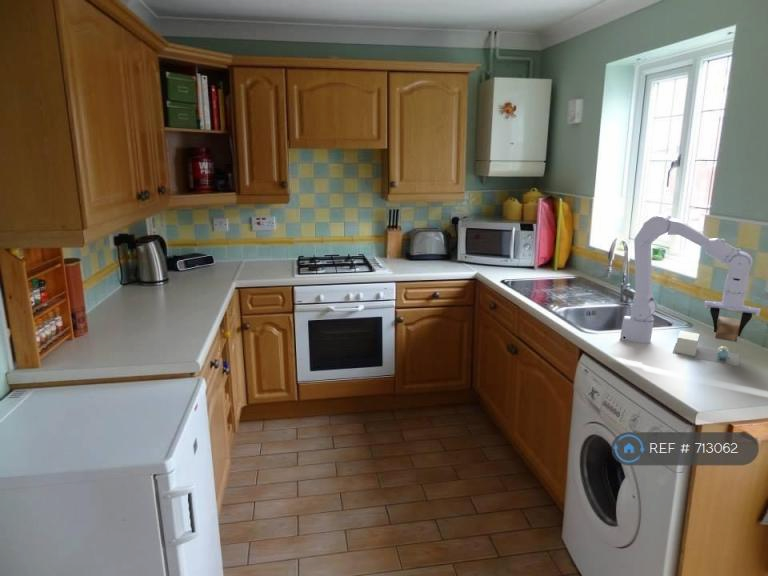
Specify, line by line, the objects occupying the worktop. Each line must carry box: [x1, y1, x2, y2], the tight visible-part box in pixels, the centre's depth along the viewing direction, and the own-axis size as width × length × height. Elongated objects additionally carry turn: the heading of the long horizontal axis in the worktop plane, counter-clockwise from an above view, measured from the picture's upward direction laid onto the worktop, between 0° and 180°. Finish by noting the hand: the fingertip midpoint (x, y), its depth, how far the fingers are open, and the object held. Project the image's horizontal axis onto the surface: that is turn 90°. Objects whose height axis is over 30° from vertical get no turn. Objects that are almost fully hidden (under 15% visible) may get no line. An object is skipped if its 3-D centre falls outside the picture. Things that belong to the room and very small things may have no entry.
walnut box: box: [714, 315, 741, 343], centre depth 166 cm, size 6×9×5 cm, turn 147°
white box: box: [675, 330, 700, 356], centre depth 173 cm, size 6×9×5 cm, turn 147°
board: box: [672, 342, 740, 367], centre depth 171 cm, size 18×12×1 cm, turn 57°
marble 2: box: [717, 349, 728, 359], centre depth 167 cm, size 3×3×3 cm
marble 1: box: [717, 345, 730, 353], centre depth 170 cm, size 3×3×3 cm
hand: (726, 333), depth 167 cm, fingers closed on walnut box, 6 cm apart
